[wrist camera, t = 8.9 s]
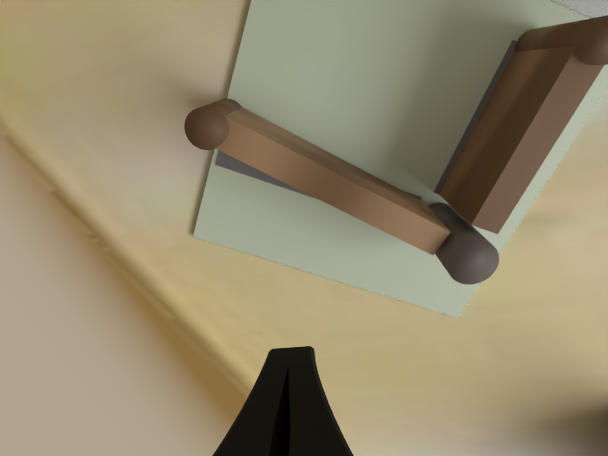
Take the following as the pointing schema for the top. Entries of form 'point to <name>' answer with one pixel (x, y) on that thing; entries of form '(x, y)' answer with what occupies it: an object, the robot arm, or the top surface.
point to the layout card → (372, 128)
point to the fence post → (515, 138)
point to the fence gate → (314, 172)
